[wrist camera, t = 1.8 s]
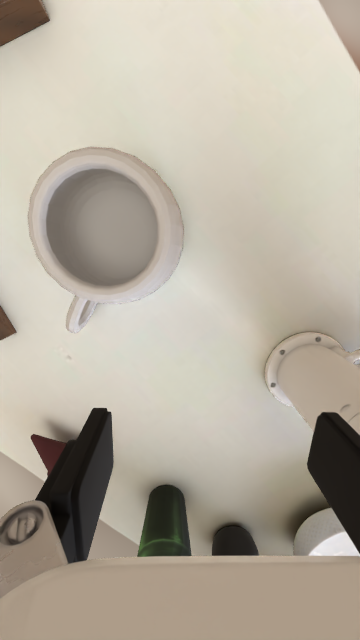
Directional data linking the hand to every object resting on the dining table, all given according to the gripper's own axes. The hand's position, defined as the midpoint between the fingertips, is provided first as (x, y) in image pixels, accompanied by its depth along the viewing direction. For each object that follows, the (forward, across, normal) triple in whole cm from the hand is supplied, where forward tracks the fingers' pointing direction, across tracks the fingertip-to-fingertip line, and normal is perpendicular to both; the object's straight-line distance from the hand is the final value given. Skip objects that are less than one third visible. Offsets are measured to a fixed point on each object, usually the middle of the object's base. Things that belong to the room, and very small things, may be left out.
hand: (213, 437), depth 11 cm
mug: (+26, +10, -8) cm, 29 cm away
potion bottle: (+26, +2, +36) cm, 44 cm away
